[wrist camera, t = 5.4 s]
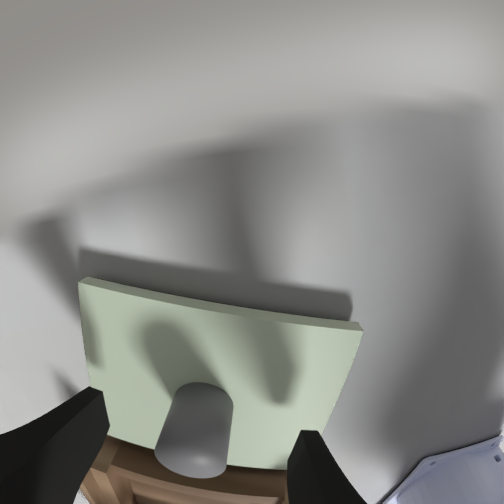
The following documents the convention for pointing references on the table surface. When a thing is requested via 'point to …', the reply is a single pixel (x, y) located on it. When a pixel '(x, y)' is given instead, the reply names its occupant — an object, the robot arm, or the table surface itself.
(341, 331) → the cover plate
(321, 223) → the table surface
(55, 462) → the robot arm
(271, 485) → the walnut box
